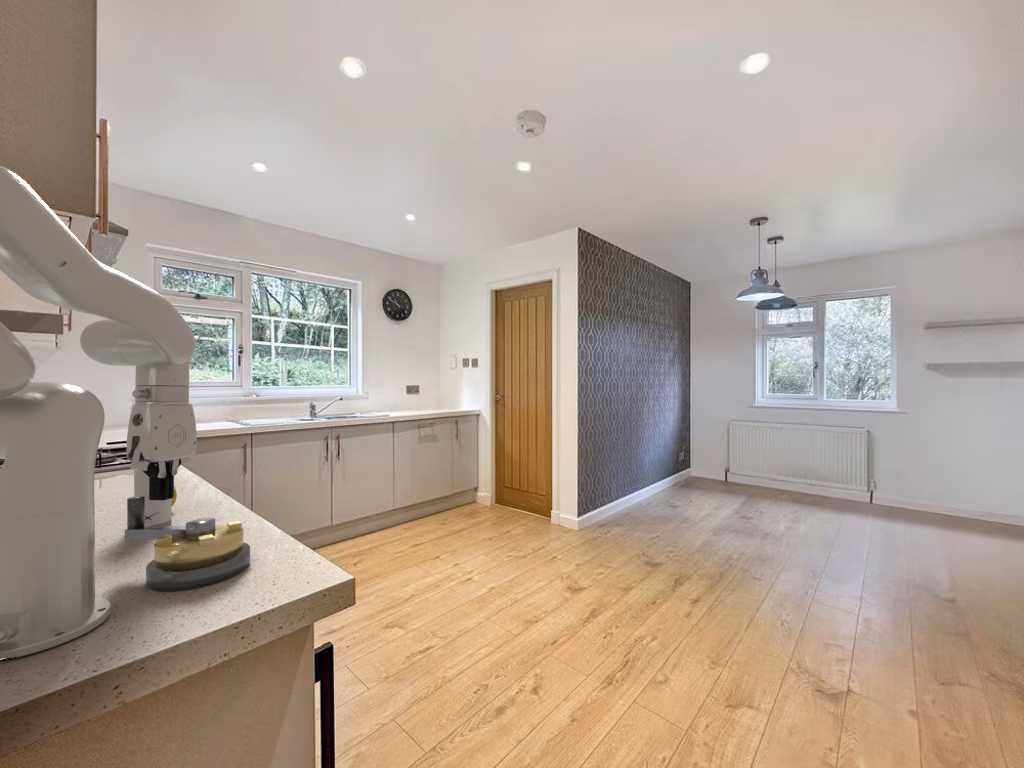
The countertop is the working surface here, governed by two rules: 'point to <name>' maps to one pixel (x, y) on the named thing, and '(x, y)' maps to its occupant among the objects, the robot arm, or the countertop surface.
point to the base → (196, 574)
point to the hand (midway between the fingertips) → (161, 499)
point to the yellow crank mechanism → (185, 539)
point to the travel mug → (152, 503)
